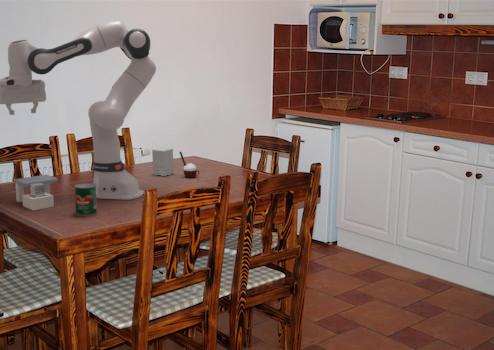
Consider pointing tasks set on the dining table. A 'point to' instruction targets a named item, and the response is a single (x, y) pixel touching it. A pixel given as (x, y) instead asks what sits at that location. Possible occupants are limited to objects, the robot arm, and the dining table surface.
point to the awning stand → (38, 201)
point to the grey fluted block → (162, 161)
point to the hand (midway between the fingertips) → (22, 113)
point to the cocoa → (189, 168)
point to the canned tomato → (85, 199)
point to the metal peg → (37, 190)
